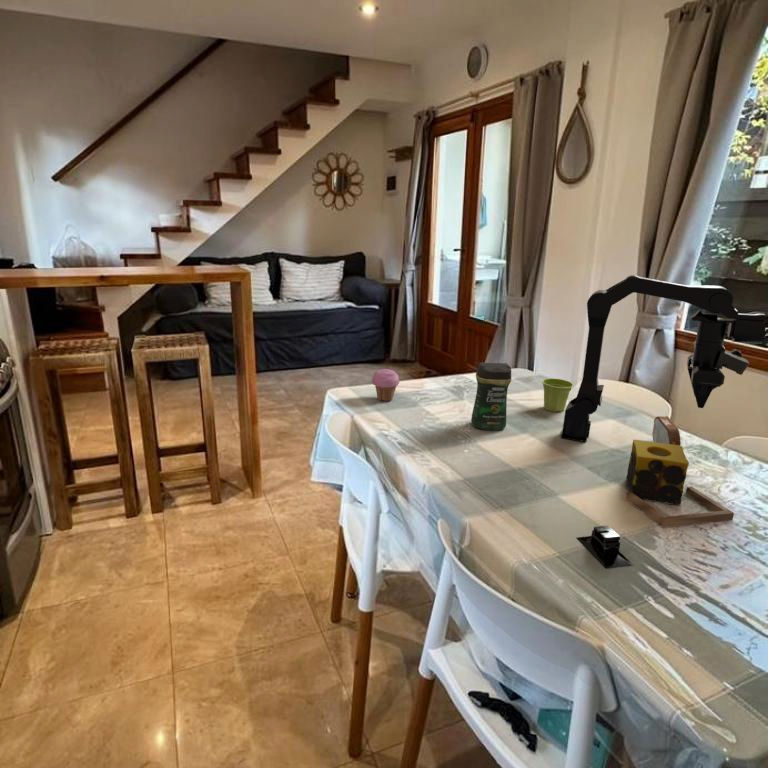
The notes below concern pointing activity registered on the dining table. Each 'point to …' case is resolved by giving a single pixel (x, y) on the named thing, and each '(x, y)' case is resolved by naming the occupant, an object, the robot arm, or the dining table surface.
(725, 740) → the dining table surface
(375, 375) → the cupcake
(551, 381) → the plant pot
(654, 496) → the yellow holed cube
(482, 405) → the coffee jar
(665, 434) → the tin
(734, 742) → the dining table surface
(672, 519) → the brown flat tray
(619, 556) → the black block on plate
